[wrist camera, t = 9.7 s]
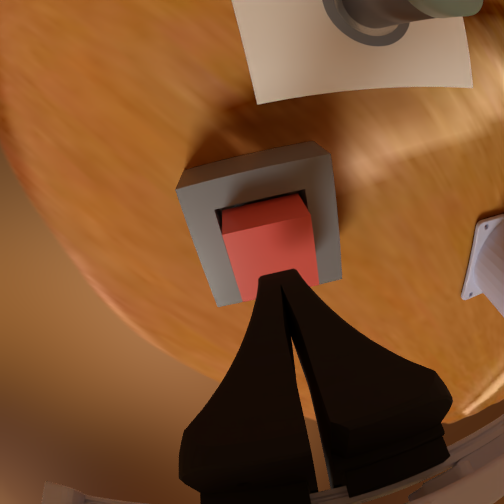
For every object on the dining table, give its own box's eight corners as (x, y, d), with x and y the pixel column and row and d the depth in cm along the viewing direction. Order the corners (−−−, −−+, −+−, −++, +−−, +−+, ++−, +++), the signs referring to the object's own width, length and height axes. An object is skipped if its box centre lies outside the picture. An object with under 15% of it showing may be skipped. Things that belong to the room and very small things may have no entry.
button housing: (313, 140, 15) (330, 154, 13) (327, 250, 19) (341, 278, 16) (183, 170, 16) (175, 189, 13) (218, 275, 19) (217, 307, 17)
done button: (297, 193, 14) (310, 214, 12) (307, 256, 16) (319, 284, 14) (222, 210, 14) (222, 235, 12) (240, 271, 16) (242, 301, 14)
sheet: (440, -48, 8) (444, -50, 8) (470, 87, 13) (474, 88, 13) (214, -59, 9) (214, -62, 8) (257, 104, 14) (257, 104, 14)
